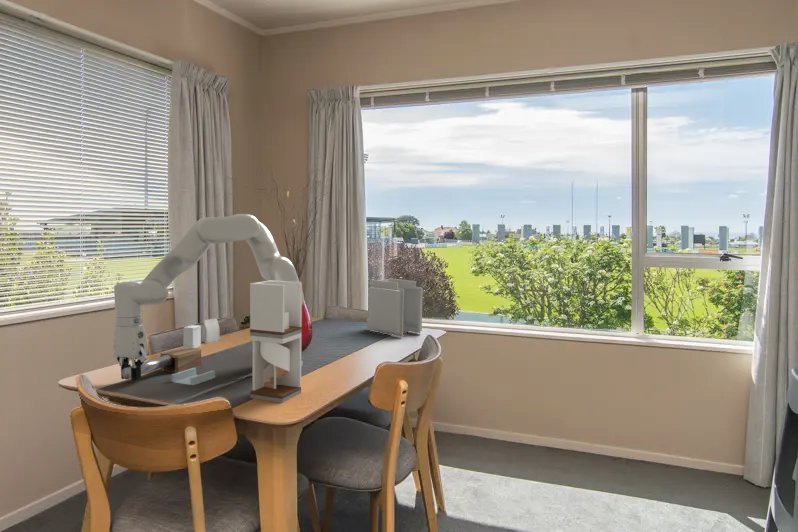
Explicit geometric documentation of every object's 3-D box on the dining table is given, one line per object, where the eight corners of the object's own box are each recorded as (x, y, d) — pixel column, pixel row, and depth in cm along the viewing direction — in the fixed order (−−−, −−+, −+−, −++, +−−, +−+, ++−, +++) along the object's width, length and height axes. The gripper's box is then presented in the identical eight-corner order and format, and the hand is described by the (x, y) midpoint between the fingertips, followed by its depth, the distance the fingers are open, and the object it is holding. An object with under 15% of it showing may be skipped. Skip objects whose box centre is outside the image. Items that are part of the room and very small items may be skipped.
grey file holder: (386, 326, 291) (387, 277, 289) (423, 334, 272) (424, 281, 270) (361, 330, 279) (362, 279, 277) (398, 339, 260) (399, 283, 258)
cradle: (215, 381, 184) (215, 370, 184) (193, 389, 175) (192, 378, 175) (194, 378, 188) (194, 367, 188) (171, 386, 179) (171, 374, 178)
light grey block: (219, 340, 249) (219, 318, 248) (206, 343, 243) (206, 320, 243) (214, 339, 251) (214, 317, 250) (201, 342, 245) (201, 319, 245)
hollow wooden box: (201, 369, 199) (201, 349, 199) (178, 377, 189) (178, 355, 189) (184, 367, 203) (184, 346, 202) (160, 374, 192) (160, 353, 192)
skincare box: (192, 358, 216) (192, 328, 215) (183, 357, 217) (182, 327, 216) (201, 355, 222) (201, 325, 221) (191, 354, 223) (191, 324, 222)
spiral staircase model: (250, 397, 168) (250, 283, 166) (270, 388, 178) (270, 280, 176) (282, 402, 164) (282, 285, 162) (301, 393, 174) (301, 282, 172)
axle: (164, 365, 190) (163, 354, 190) (172, 365, 189) (171, 354, 189) (122, 379, 175) (121, 368, 175) (130, 379, 173) (129, 368, 173)
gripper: (158, 321, 175) (160, 378, 176) (120, 317, 181) (122, 372, 183) (138, 325, 168) (140, 384, 169) (99, 321, 174) (102, 378, 176)
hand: (131, 378), depth 176 cm, fingers closed on axle, 3 cm apart
